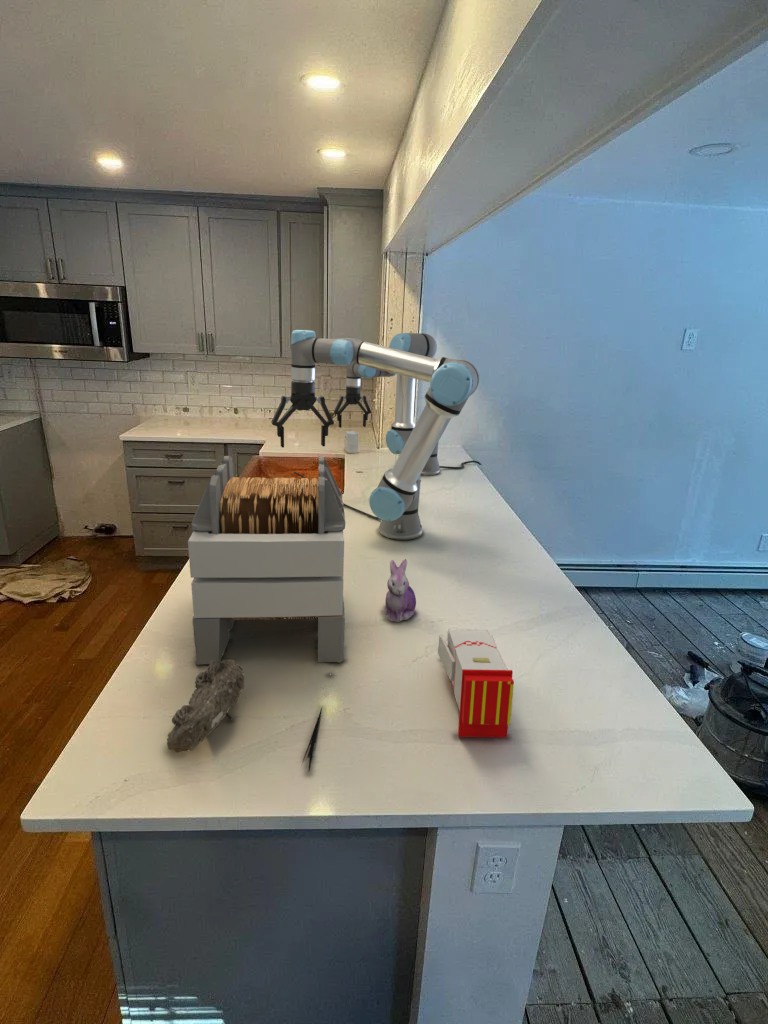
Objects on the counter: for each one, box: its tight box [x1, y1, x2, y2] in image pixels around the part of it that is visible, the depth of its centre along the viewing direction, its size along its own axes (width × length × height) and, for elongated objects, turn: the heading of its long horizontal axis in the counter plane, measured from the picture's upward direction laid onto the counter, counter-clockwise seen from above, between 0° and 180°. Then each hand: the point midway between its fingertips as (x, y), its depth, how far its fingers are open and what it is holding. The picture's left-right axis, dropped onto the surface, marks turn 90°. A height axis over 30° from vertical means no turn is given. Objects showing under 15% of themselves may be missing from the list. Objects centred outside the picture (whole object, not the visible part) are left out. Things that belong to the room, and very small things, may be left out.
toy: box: [437, 628, 515, 738], centre depth 117 cm, size 12×13×30 cm
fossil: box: [166, 658, 245, 754], centre depth 106 cm, size 22×10×15 cm
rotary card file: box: [187, 455, 346, 666], centre depth 133 cm, size 34×33×41 cm
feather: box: [301, 673, 332, 771], centre depth 108 cm, size 2×28×2 cm
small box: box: [344, 430, 359, 454], centre depth 308 cm, size 8×6×10 cm
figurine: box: [384, 558, 417, 623], centre depth 145 cm, size 9×10×15 cm
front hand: (302, 446), depth 188 cm, fingers open, 13 cm apart
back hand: (352, 426), depth 303 cm, fingers open, 13 cm apart
